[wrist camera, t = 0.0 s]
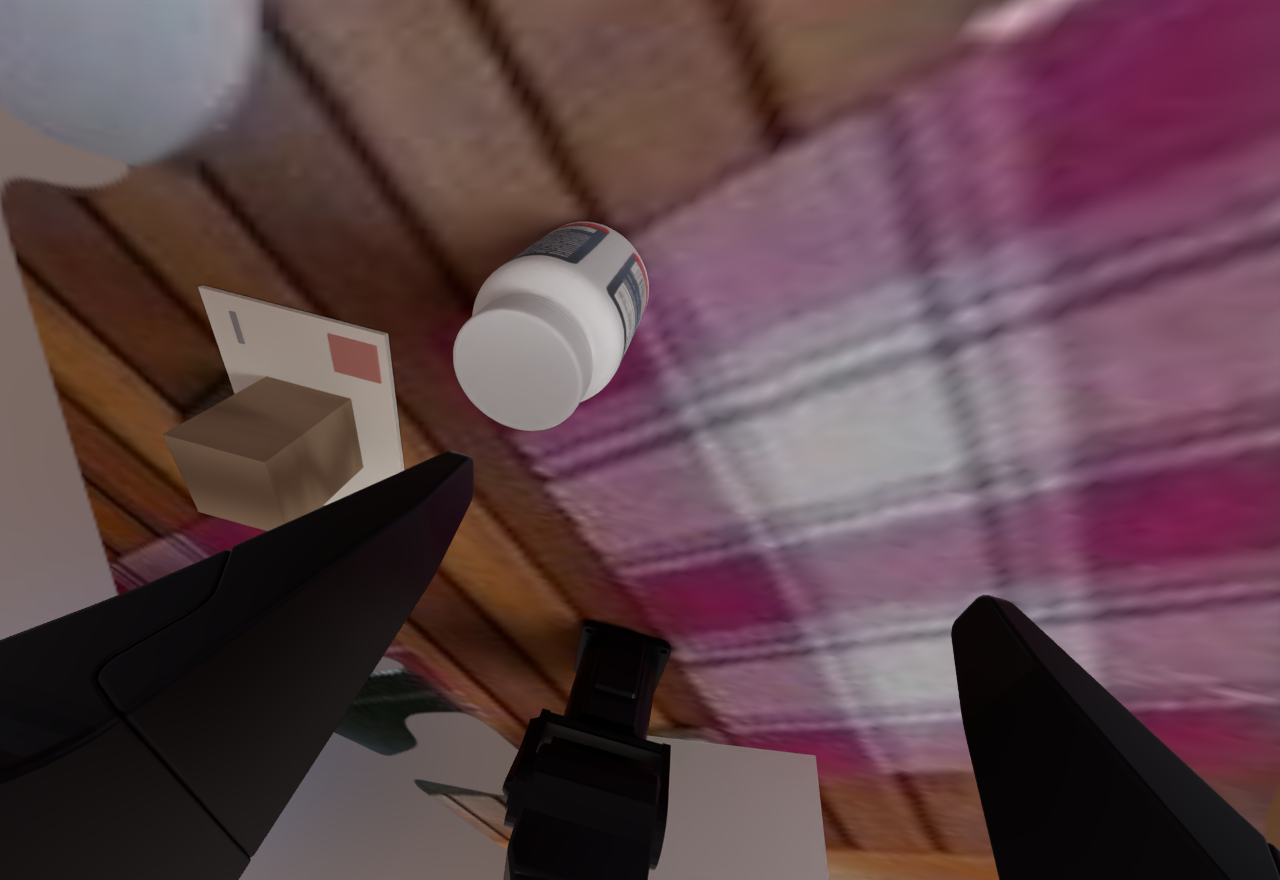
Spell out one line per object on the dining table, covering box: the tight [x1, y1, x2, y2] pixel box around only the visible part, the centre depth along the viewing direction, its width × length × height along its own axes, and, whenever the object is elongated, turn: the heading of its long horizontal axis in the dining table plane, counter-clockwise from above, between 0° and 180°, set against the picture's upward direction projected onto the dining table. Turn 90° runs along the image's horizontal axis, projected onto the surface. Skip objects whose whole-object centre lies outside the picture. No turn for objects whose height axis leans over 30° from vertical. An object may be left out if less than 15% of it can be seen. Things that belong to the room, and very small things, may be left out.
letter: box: [198, 285, 404, 505], centre depth 29 cm, size 14×10×1 cm
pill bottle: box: [453, 221, 649, 431], centre depth 18 cm, size 5×5×9 cm
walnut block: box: [163, 376, 363, 531], centre depth 26 cm, size 5×5×6 cm
